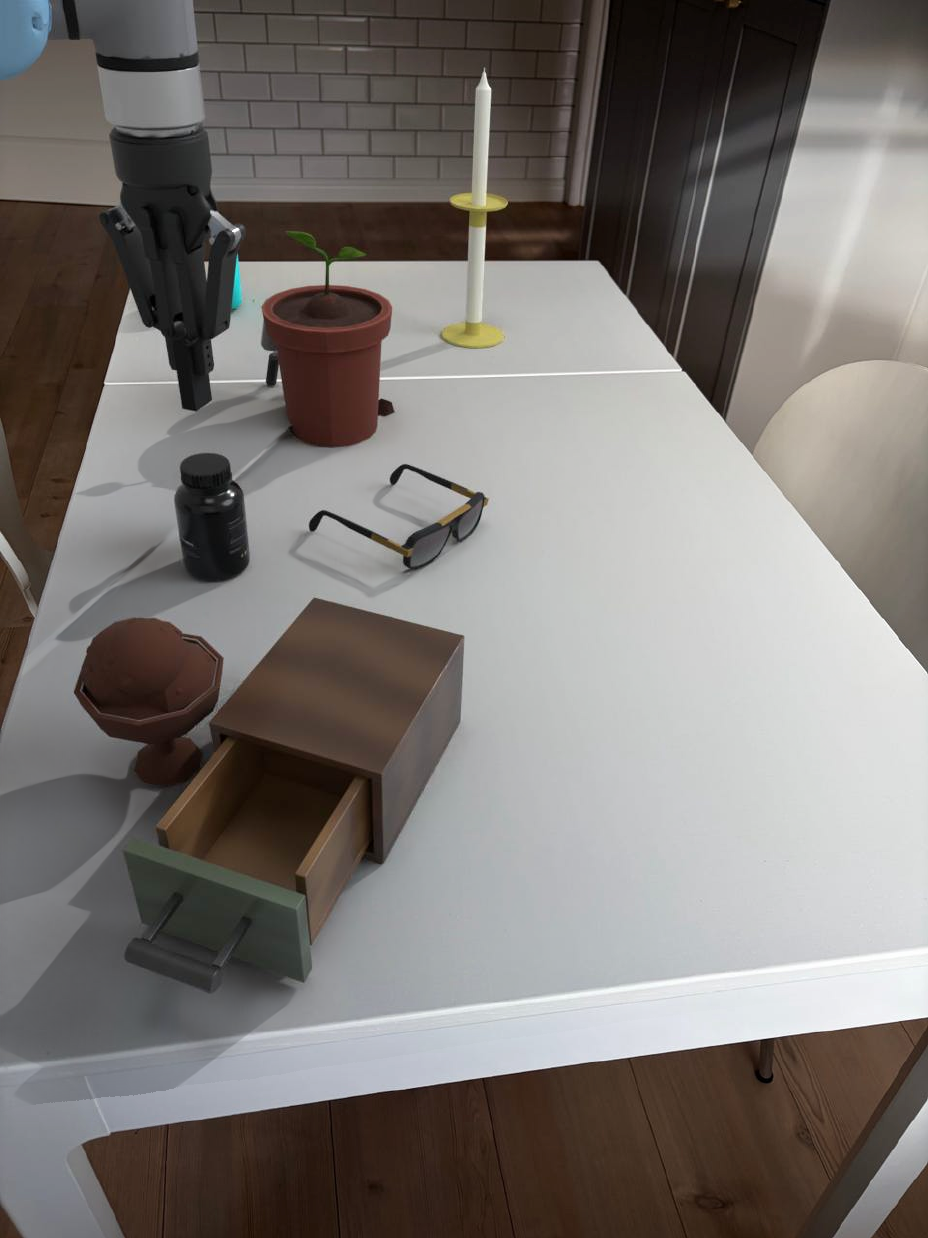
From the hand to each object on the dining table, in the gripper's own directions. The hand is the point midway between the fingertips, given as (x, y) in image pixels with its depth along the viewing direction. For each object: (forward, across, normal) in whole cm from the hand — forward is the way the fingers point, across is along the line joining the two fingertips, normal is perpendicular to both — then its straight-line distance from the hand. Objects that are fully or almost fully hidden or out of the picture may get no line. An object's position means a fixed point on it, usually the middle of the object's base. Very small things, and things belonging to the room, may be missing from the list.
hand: (197, 404), depth 92 cm
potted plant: (+19, +6, -36) cm, 41 cm away
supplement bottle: (+19, +1, 0) cm, 19 cm away
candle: (+19, -1, -72) cm, 74 cm away
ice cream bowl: (+19, -11, +26) cm, 34 cm away
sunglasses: (+19, -14, -15) cm, 28 cm away
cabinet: (+19, -25, +20) cm, 37 cm away
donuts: (+19, +42, -64) cm, 79 cm away
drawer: (+18, -25, +35) cm, 46 cm away
